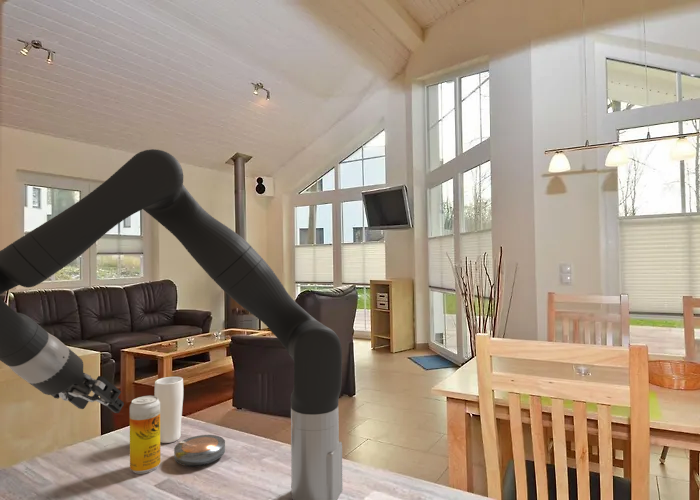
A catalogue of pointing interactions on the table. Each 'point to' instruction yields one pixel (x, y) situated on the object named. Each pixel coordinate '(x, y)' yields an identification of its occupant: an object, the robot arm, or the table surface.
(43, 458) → the table surface
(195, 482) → the table surface
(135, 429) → the beer can
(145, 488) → the table surface
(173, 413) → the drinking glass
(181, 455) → the disc
